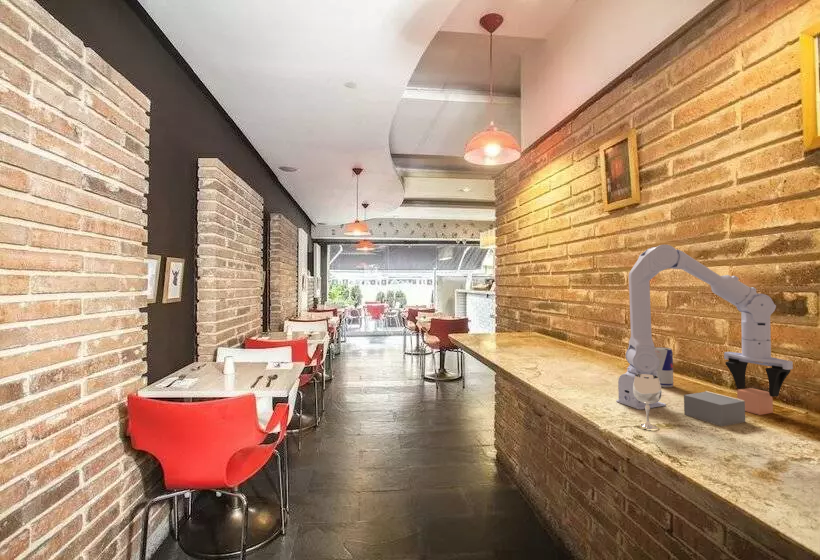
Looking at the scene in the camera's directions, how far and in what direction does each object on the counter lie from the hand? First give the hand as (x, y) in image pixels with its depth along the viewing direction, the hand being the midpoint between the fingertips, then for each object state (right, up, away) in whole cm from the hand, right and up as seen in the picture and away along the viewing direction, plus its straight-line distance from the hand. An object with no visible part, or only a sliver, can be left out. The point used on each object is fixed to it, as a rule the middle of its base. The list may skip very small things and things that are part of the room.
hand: (756, 392), depth 103 cm
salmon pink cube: (-1, -5, 0) cm, 5 cm away
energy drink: (-8, -5, +26) cm, 27 cm away
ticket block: (-15, -5, -5) cm, 16 cm away
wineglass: (-34, -6, -10) cm, 36 cm away
